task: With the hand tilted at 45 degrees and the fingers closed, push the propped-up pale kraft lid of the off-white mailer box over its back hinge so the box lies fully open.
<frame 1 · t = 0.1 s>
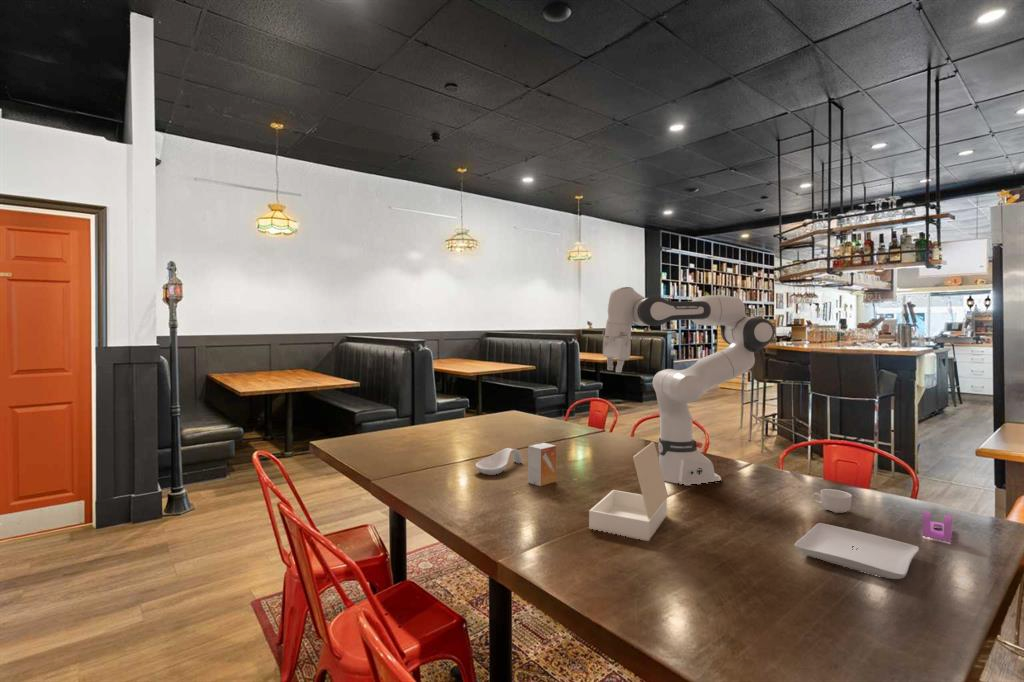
hand: (614, 371, 178), 39 cm above the table, tool pointing down, fingers open, 8 cm apart
small box: (542, 483, 176), on the table
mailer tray: (629, 522, 140), on the table
bracket: (937, 535, 132), on the table
mailer lid: (651, 477, 136), point 13 cm above the table, hinge at 75.0°
spoon rest: (500, 470, 192), on the table
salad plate: (856, 559, 118), on the table
teacup: (831, 511, 149), on the table
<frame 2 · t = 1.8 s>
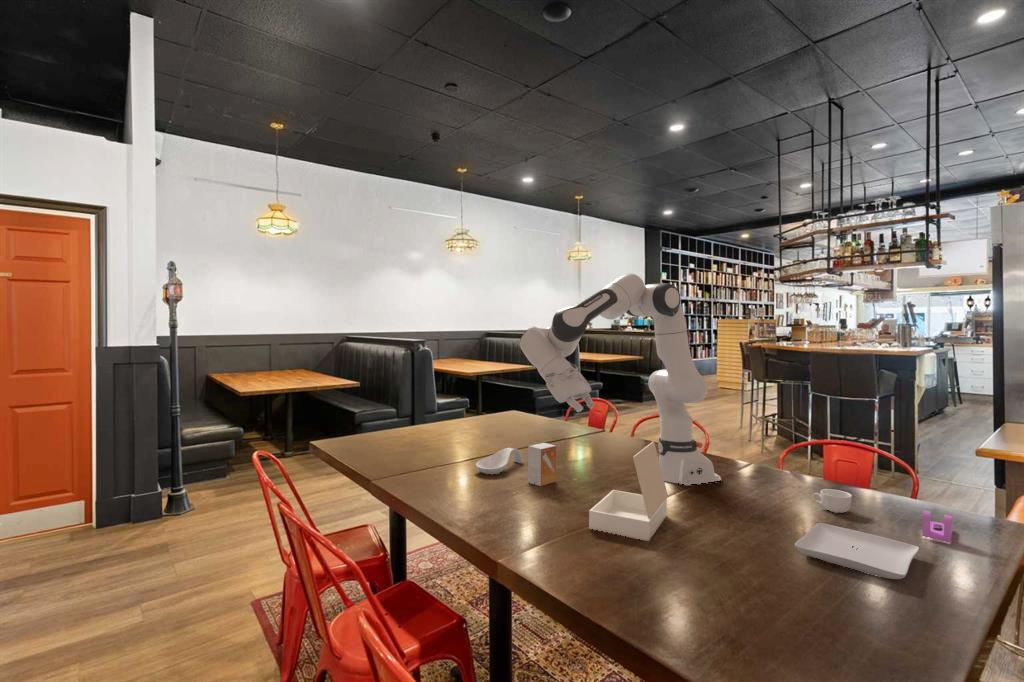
hand: (587, 408, 146), 31 cm above the table, tool tilted 45°, fingers open, 8 cm apart
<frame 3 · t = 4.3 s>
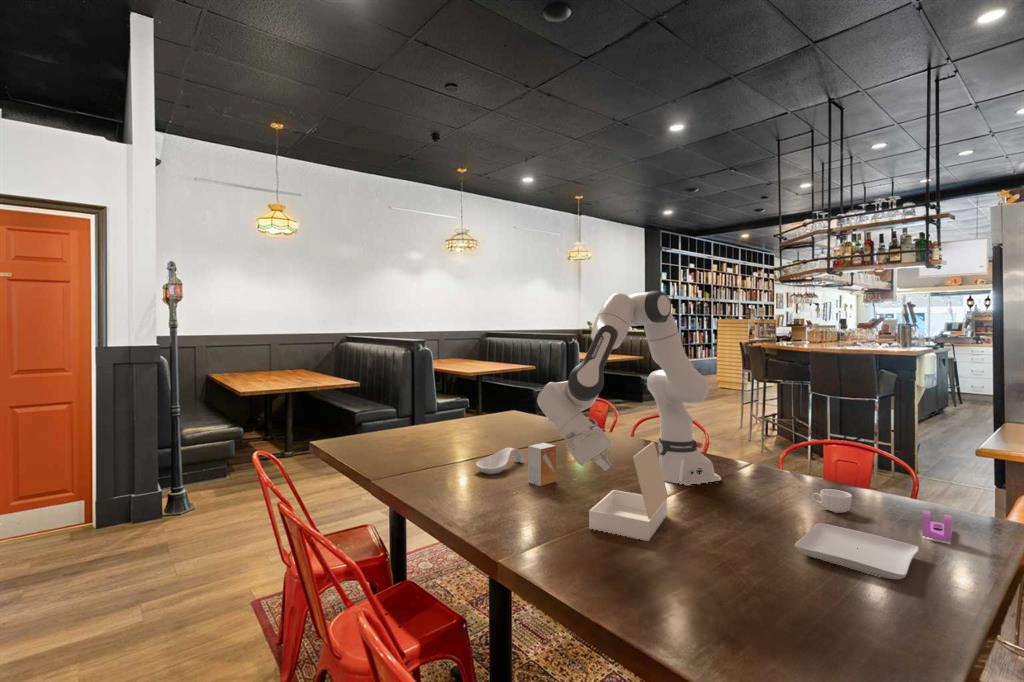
hand: (608, 468, 142), 14 cm above the table, tool tilted 45°, fingers closed
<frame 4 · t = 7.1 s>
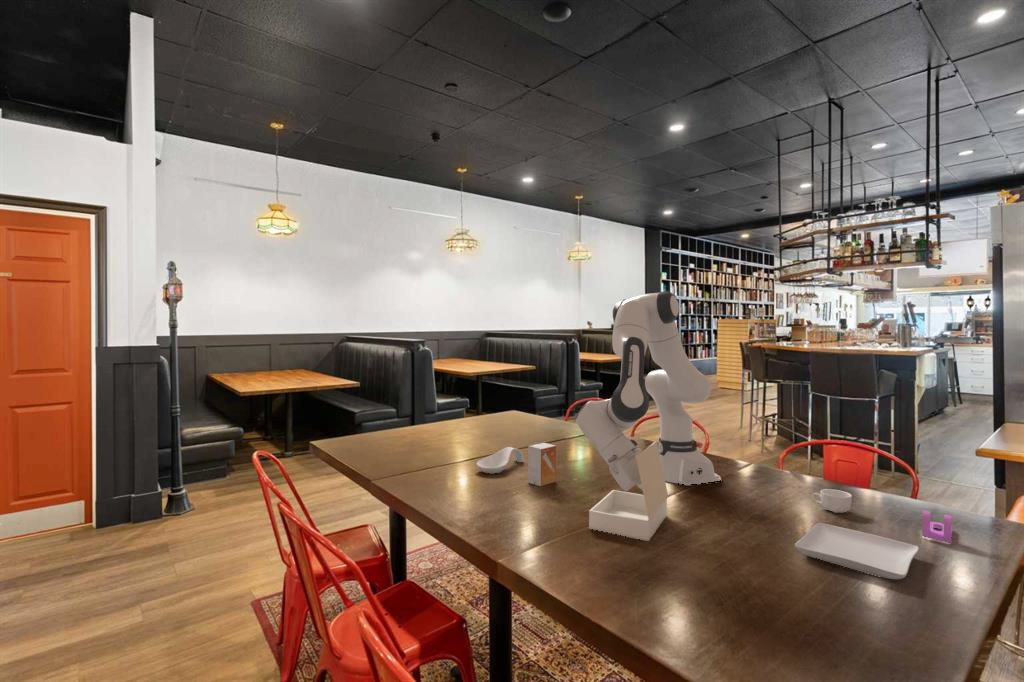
hand: (652, 493, 136), 9 cm above the table, tool tilted 45°, fingers closed, pressing on mailer lid
mailer lid: (653, 477, 136), point 13 cm above the table, hinge at 78.0°, touching gripper
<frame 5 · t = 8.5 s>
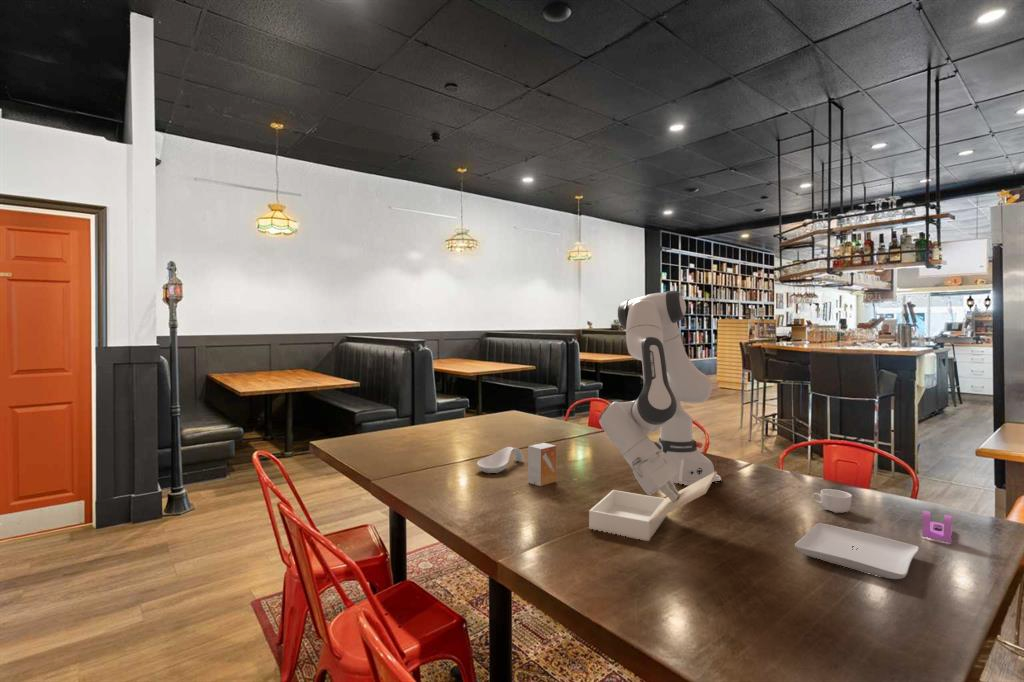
hand: (676, 498, 132), 9 cm above the table, tool tilted 40°, fingers closed
mailer lid: (684, 495, 132), point 10 cm above the table, hinge at 144.1°, touching gripper
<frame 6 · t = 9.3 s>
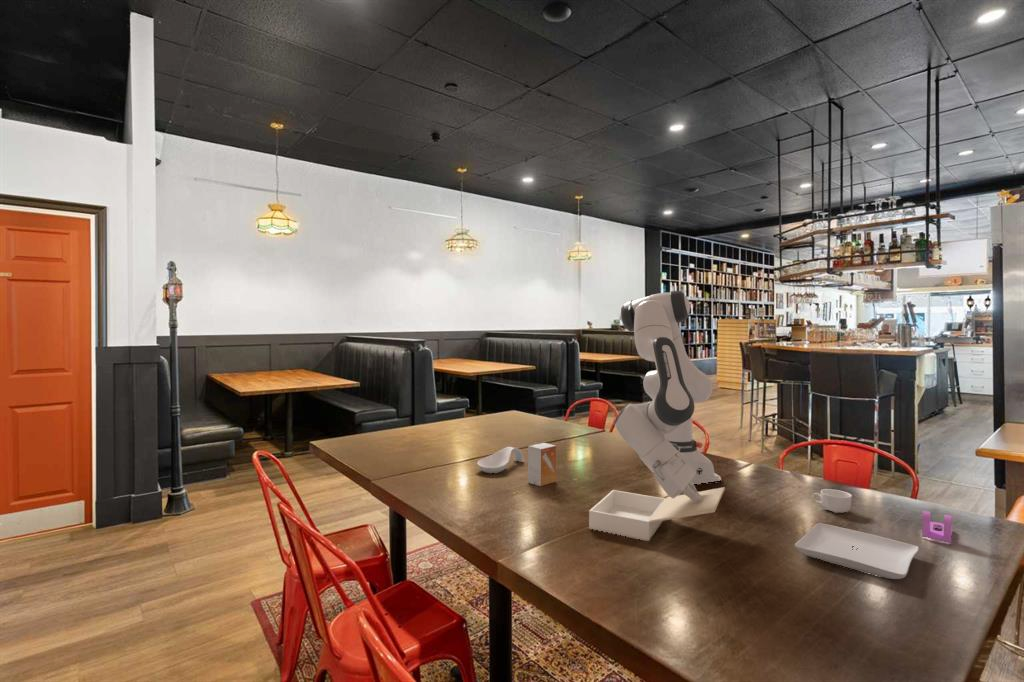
hand: (698, 500, 130), 9 cm above the table, tool tilted 45°, fingers closed, pressing on mailer lid
mailer lid: (688, 504, 131), point 8 cm above the table, hinge at 160.3°, touching gripper
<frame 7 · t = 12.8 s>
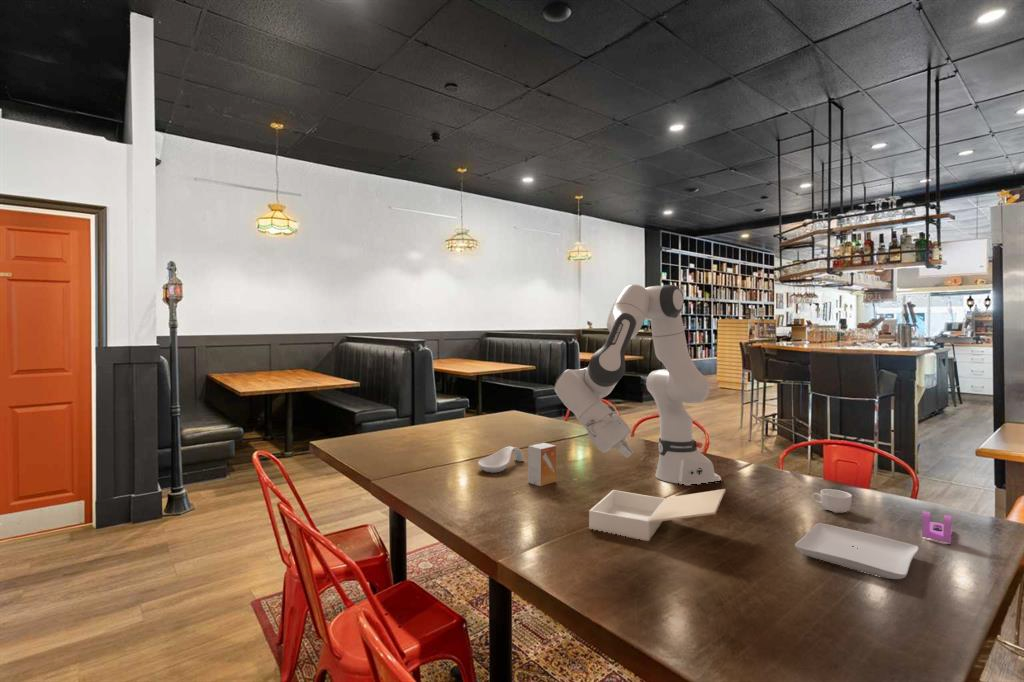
hand: (630, 455, 139), 19 cm above the table, tool tilted 45°, fingers closed
mailer lid: (689, 505, 131), point 8 cm above the table, hinge at 161.9°
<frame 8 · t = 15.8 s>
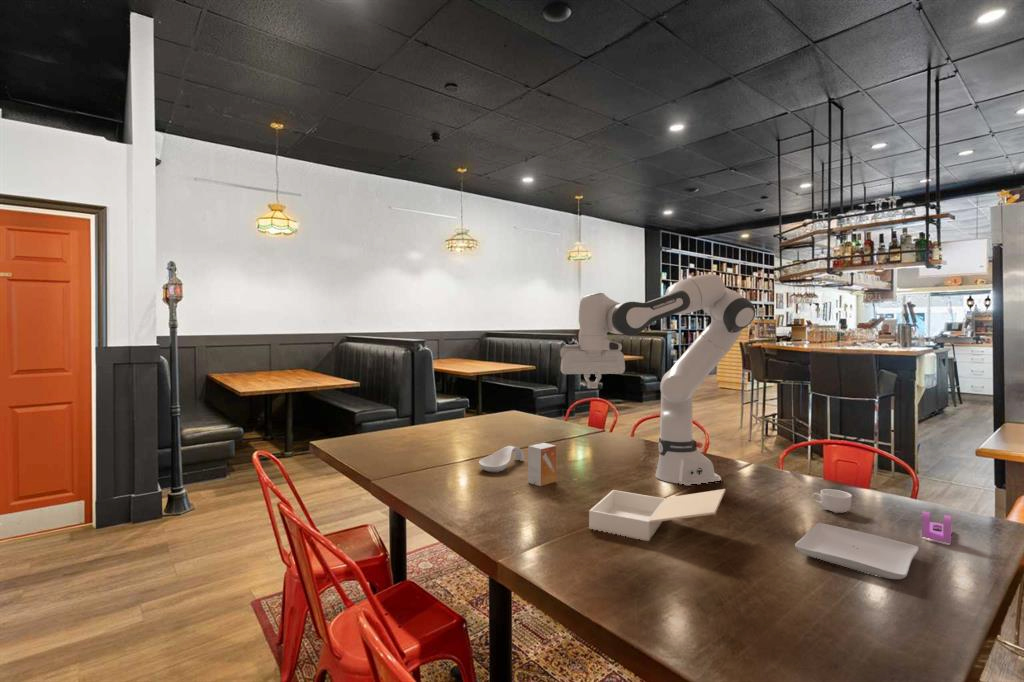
hand: (592, 388, 159), 35 cm above the table, tool pointing down, fingers closed
at the end: mailer lid at +162° (first picture: +75°); small box moved 0.2 cm from its start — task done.
